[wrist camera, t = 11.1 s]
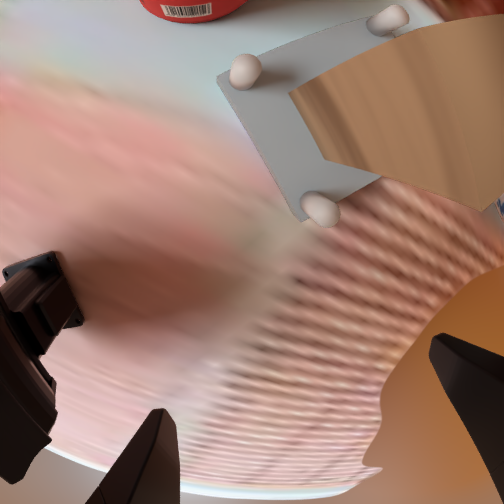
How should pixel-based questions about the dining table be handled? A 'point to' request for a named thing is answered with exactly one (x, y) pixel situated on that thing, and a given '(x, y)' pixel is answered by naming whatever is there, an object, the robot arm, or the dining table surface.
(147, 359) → the dining table surface
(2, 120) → the dining table surface
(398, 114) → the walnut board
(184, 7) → the canned food
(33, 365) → the robot arm
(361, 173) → the peg seat
